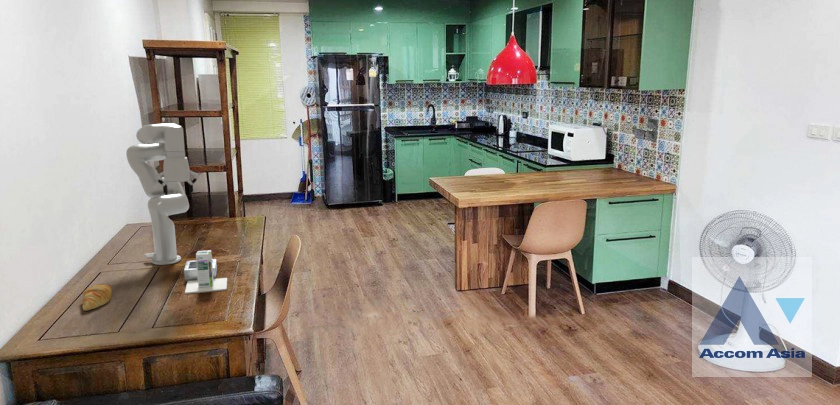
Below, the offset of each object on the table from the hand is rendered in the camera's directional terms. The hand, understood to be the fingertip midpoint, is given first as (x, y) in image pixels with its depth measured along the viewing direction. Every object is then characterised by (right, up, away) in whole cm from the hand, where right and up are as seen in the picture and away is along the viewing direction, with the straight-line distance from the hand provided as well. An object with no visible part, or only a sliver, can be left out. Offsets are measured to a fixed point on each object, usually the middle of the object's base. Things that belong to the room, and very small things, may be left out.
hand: (178, 194), depth 241 cm
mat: (+14, -39, -6) cm, 42 cm away
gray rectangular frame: (+6, -35, +10) cm, 37 cm away
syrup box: (+14, -39, -6) cm, 41 cm away
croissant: (-22, -43, -23) cm, 53 cm away
